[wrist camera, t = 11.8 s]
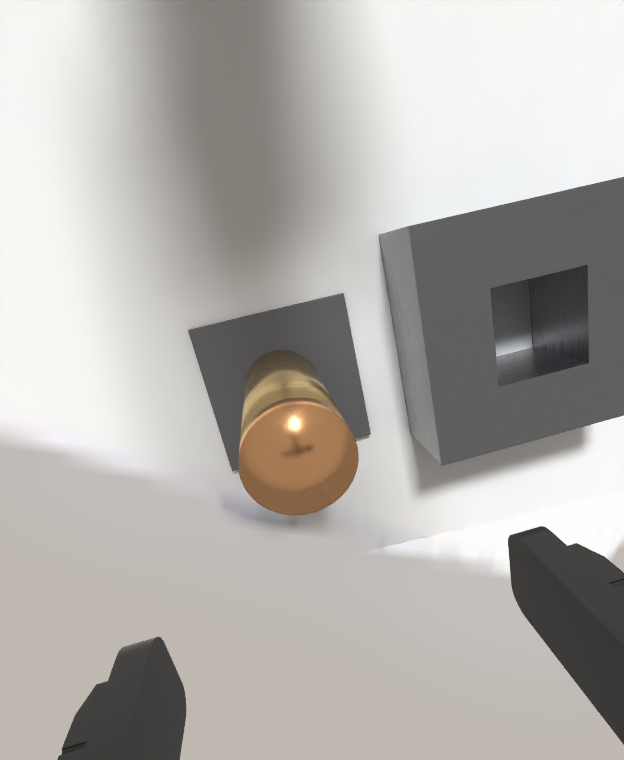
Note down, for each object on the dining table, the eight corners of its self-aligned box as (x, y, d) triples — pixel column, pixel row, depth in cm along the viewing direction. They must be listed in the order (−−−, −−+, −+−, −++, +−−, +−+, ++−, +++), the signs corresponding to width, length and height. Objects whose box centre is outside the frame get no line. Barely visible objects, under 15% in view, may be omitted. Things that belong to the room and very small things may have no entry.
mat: (189, 329, 25) (188, 330, 25) (342, 293, 26) (343, 293, 25) (232, 468, 28) (232, 470, 27) (369, 431, 28) (370, 434, 28)
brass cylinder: (236, 360, 25) (223, 423, 15) (308, 342, 26) (345, 391, 15) (255, 427, 27) (256, 528, 16) (324, 409, 27) (367, 497, 17)
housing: (378, 234, 25) (408, 226, 20) (582, 187, 26) (656, 169, 21) (410, 433, 29) (441, 465, 24) (586, 386, 30) (649, 408, 25)
